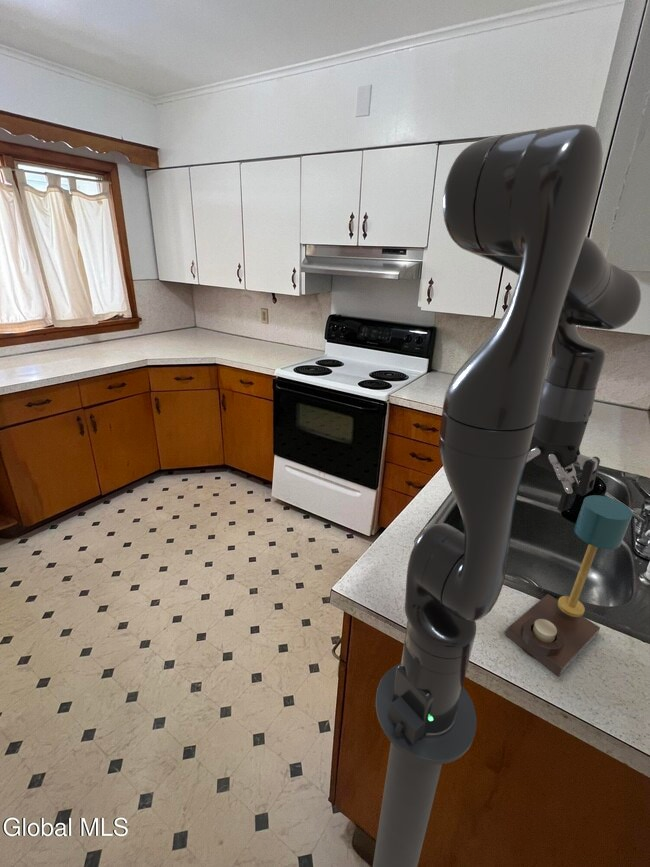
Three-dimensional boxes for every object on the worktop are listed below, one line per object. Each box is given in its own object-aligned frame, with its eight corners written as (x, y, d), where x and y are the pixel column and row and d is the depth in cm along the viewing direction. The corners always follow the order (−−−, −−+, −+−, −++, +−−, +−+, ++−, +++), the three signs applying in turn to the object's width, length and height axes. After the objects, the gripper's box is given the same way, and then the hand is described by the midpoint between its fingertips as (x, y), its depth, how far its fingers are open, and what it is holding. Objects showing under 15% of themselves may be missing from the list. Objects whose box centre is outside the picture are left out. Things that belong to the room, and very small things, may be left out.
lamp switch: (547, 646, 73) (550, 639, 72) (528, 632, 76) (530, 625, 75) (558, 636, 75) (561, 629, 74) (539, 622, 78) (541, 615, 77)
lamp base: (556, 679, 71) (562, 663, 70) (503, 637, 79) (507, 622, 77) (596, 635, 79) (603, 620, 78) (545, 601, 87) (550, 586, 85)
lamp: (580, 629, 76) (621, 525, 66) (542, 604, 81) (575, 503, 71) (598, 611, 80) (640, 510, 70) (561, 588, 85) (595, 490, 75)
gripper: (507, 401, 69) (488, 485, 76) (599, 432, 59) (568, 526, 66) (531, 392, 73) (512, 473, 80) (622, 420, 63) (590, 510, 70)
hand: (537, 497), depth 73 cm, fingers open, 8 cm apart
